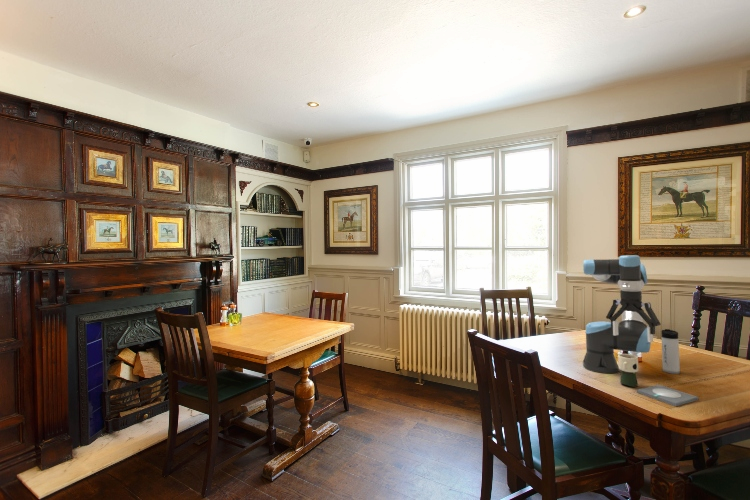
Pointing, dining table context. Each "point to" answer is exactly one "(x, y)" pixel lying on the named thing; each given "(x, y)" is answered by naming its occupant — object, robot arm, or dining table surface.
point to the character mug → (628, 369)
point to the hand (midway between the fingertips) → (632, 338)
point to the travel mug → (670, 351)
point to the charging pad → (667, 395)
